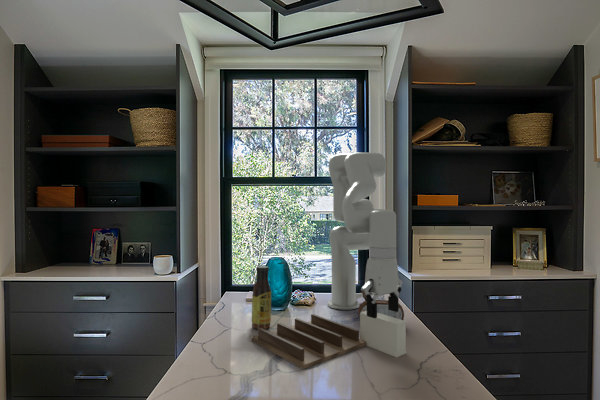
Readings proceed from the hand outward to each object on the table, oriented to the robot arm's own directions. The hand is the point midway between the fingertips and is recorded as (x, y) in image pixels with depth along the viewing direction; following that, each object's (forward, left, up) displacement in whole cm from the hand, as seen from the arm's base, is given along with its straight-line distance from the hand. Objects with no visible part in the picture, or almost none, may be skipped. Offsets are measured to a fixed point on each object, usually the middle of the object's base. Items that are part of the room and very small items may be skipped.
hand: (382, 313), depth 106 cm
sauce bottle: (+17, -37, -10) cm, 41 cm away
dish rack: (+14, -17, -10) cm, 24 cm away
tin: (-15, -13, -10) cm, 22 cm away
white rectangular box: (0, -1, -10) cm, 10 cm away
